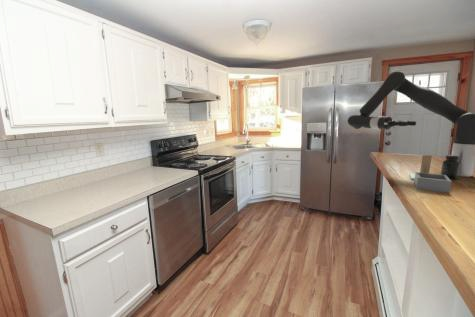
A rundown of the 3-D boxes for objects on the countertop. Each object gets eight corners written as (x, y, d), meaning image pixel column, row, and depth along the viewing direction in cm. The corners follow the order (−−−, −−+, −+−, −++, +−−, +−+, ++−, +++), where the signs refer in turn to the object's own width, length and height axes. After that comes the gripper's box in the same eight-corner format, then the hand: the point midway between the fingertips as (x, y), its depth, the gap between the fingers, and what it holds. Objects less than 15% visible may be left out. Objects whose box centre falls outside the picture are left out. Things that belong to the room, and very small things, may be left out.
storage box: (413, 184, 111) (415, 172, 110) (443, 187, 105) (446, 175, 104) (416, 190, 102) (417, 177, 101) (449, 195, 96) (451, 181, 95)
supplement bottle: (461, 180, 116) (465, 157, 114) (445, 179, 117) (449, 156, 115) (451, 176, 123) (455, 154, 120) (436, 176, 124) (440, 154, 122)
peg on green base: (409, 176, 124) (412, 152, 121) (435, 179, 118) (439, 154, 116) (410, 181, 115) (414, 156, 112) (439, 185, 109) (443, 158, 107)
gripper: (373, 116, 132) (404, 116, 118) (388, 116, 139) (419, 116, 124) (372, 129, 134) (402, 131, 120) (387, 128, 140) (417, 130, 126)
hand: (411, 123), depth 122 cm, fingers open, 8 cm apart
